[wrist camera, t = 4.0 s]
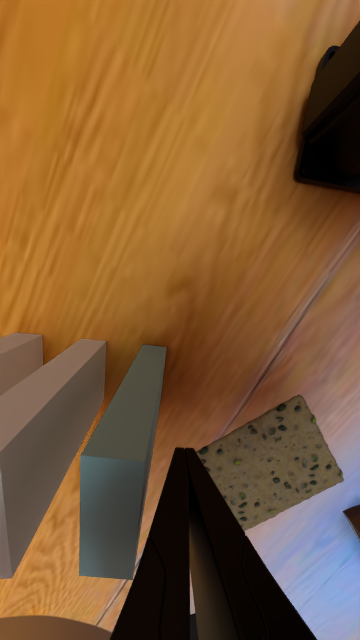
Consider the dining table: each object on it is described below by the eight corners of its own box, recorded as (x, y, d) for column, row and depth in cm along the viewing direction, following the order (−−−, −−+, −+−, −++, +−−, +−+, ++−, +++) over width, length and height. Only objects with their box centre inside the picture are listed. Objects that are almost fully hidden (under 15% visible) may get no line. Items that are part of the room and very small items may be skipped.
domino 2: (166, 347, 14) (144, 461, 5) (160, 404, 15) (132, 579, 6) (143, 344, 14) (80, 455, 5) (138, 401, 15) (79, 575, 6)
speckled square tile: (240, 527, 20) (244, 540, 19) (182, 453, 17) (183, 464, 16) (341, 475, 19) (350, 485, 18) (297, 389, 16) (305, 396, 15)
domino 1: (106, 340, 14) (-2, 453, 5) (104, 399, 15) (12, 578, 6) (81, 338, 13) (-77, 450, 5) (80, 398, 15) (-50, 579, 6)
